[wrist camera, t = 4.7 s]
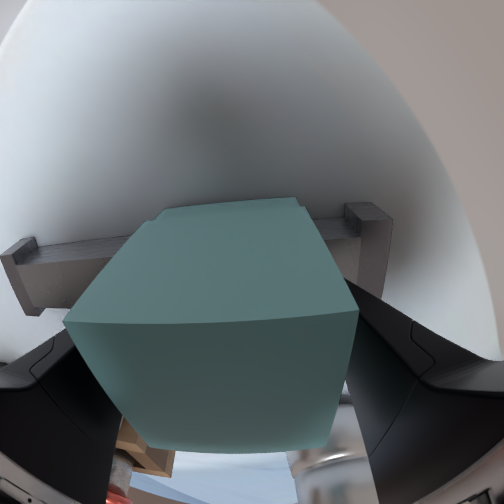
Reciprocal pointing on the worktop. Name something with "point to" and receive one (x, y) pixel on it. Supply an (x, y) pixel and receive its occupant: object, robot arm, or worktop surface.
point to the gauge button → (120, 477)
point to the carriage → (221, 329)
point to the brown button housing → (144, 452)
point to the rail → (102, 250)
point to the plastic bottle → (335, 466)
